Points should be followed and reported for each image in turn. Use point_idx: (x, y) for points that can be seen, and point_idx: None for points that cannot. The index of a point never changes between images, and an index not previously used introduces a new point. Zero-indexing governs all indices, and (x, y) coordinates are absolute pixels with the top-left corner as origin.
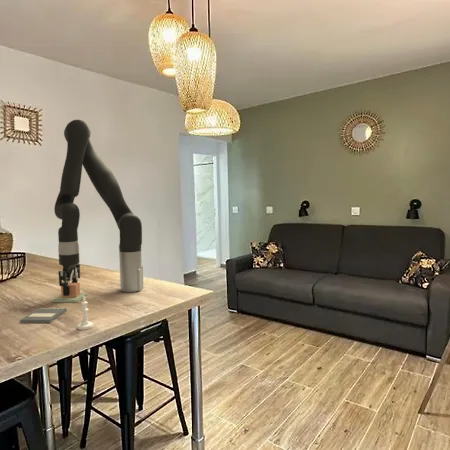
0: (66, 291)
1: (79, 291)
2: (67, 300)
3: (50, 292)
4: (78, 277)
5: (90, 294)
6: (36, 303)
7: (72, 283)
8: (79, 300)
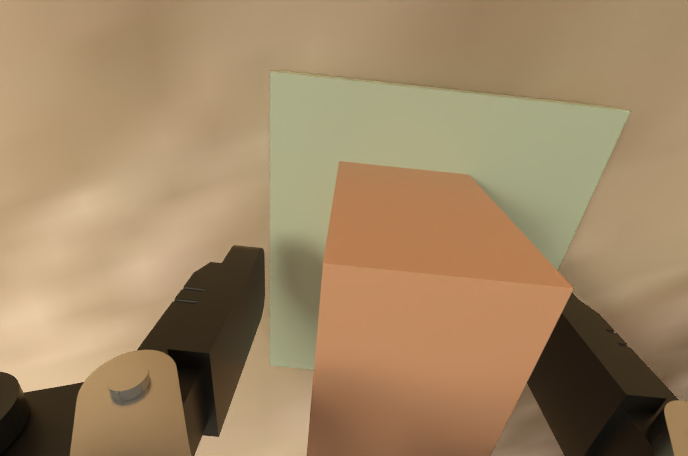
0: (622, 345)
1: (359, 181)
2: (564, 248)
3: None
4: (15, 418)
5: (213, 27)
6: None
7: (371, 391)
8: (552, 100)
